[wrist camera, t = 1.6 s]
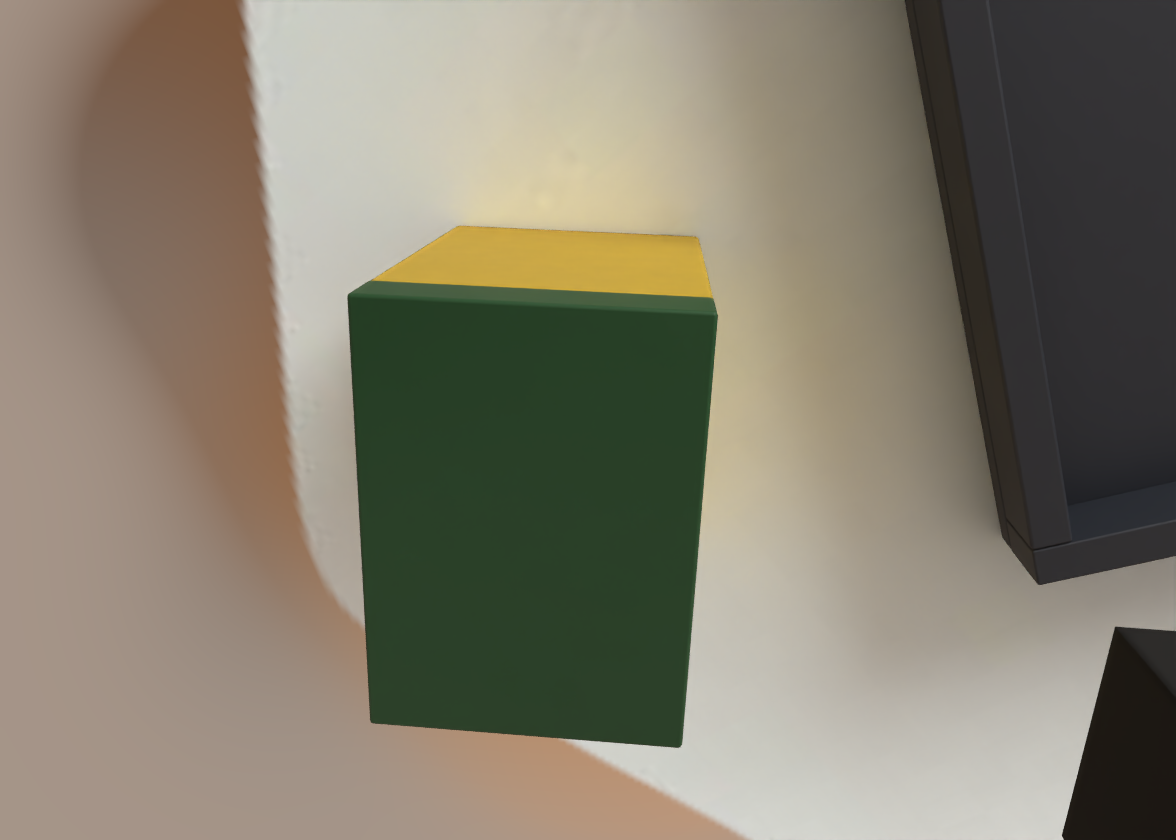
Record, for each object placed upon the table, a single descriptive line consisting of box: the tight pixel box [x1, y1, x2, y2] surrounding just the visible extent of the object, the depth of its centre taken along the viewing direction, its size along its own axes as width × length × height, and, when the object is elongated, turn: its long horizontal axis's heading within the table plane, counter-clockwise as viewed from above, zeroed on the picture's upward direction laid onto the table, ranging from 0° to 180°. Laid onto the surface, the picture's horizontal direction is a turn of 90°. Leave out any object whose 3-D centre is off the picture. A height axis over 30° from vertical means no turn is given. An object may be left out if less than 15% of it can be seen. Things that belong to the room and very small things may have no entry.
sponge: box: [348, 226, 718, 748], centre depth 17 cm, size 7×5×7 cm
